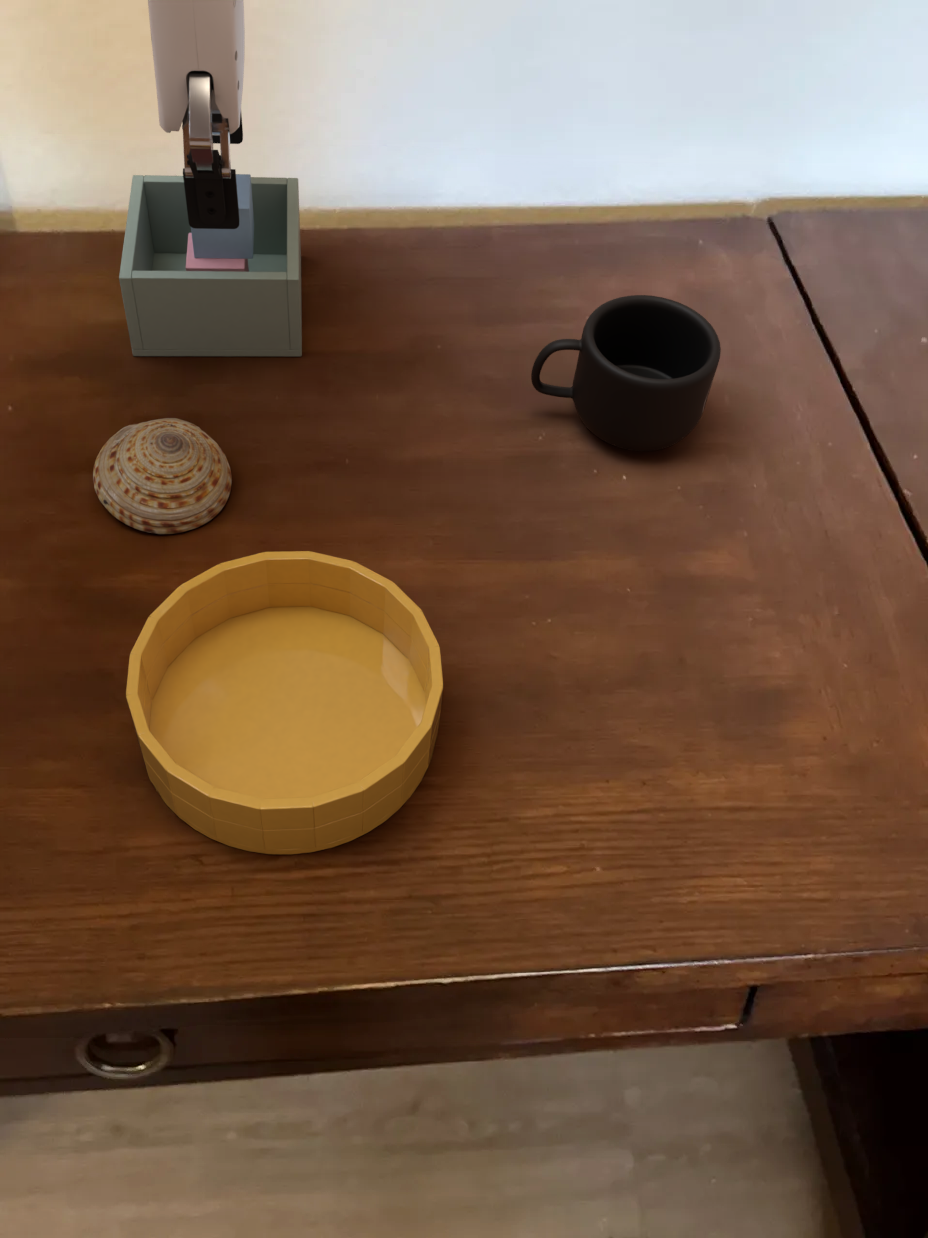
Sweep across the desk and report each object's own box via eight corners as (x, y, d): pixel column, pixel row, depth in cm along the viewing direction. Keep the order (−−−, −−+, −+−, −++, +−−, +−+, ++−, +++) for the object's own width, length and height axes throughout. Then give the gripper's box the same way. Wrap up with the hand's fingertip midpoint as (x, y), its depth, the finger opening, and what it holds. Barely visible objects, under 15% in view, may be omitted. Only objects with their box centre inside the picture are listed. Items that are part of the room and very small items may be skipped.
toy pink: (191, 314, 86) (185, 267, 83) (193, 279, 88) (188, 232, 85) (248, 315, 87) (244, 268, 83) (249, 279, 89) (245, 232, 86)
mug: (688, 376, 87) (711, 295, 81) (705, 467, 82) (732, 387, 76) (522, 369, 86) (534, 286, 81) (528, 460, 81) (541, 378, 75)
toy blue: (194, 258, 84) (188, 207, 80) (197, 223, 86) (191, 172, 83) (253, 258, 84) (249, 208, 81) (254, 224, 86) (250, 173, 83)
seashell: (172, 389, 79) (232, 417, 73) (198, 465, 82) (258, 498, 77) (58, 441, 75) (112, 475, 70) (90, 518, 79) (144, 557, 73)
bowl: (128, 862, 61) (113, 815, 57) (150, 608, 71) (139, 553, 67) (447, 848, 63) (454, 801, 59) (426, 602, 73) (431, 548, 69)
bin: (132, 356, 84) (118, 277, 79) (145, 253, 91) (132, 174, 86) (301, 356, 85) (298, 279, 80) (301, 254, 92) (298, 177, 87)
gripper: (134, -158, 73) (168, 110, 86) (108, -18, 62) (151, 261, 76) (261, -152, 73) (274, 113, 87) (256, -13, 63) (272, 263, 77)
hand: (217, 182), depth 81 cm, fingers open, 9 cm apart
